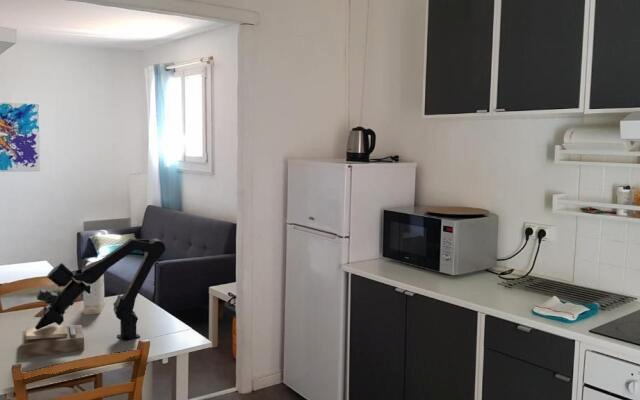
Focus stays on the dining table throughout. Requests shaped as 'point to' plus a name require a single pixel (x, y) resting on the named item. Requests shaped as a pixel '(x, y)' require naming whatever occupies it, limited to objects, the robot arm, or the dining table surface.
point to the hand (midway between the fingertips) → (36, 328)
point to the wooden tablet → (42, 312)
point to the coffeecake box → (94, 296)
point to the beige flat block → (54, 343)
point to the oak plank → (46, 332)
